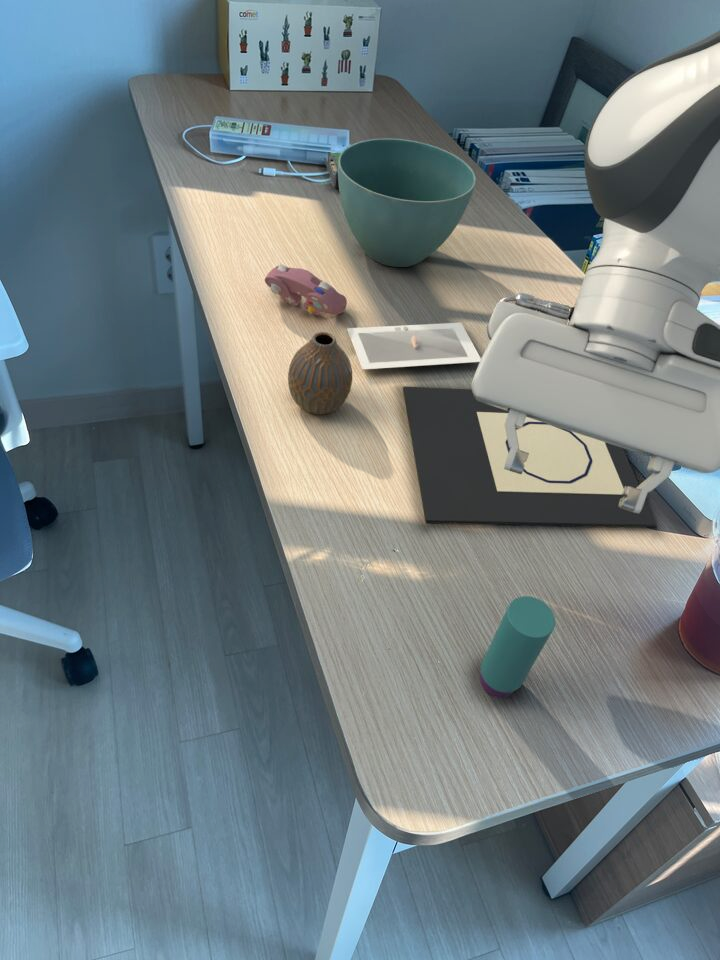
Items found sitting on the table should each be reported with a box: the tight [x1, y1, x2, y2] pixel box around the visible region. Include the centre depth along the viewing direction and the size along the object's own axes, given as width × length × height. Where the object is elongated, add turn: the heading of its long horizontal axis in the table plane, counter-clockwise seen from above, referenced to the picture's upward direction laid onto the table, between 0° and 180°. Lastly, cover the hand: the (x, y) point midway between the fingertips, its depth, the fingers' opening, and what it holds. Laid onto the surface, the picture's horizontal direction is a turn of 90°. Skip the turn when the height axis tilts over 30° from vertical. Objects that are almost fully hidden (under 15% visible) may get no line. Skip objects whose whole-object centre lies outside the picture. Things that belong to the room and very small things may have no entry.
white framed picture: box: [346, 322, 482, 370], centre depth 92 cm, size 8×15×2 cm, turn 104°
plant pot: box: [338, 138, 477, 268], centre depth 103 cm, size 18×18×12 cm
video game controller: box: [264, 263, 348, 316], centre depth 94 cm, size 10×5×7 cm, turn 62°
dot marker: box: [479, 595, 556, 699], centre depth 60 cm, size 4×4×10 cm
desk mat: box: [402, 386, 657, 528], centre depth 82 cm, size 24×20×1 cm
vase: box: [287, 331, 353, 415], centre depth 81 cm, size 7×7×9 cm
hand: (569, 491), depth 60 cm, fingers open, 8 cm apart
